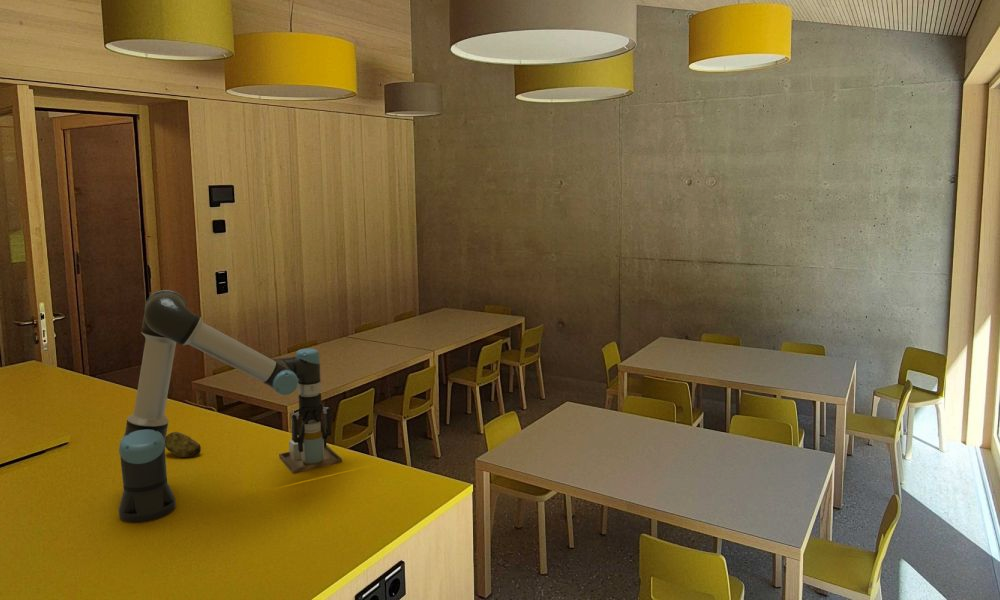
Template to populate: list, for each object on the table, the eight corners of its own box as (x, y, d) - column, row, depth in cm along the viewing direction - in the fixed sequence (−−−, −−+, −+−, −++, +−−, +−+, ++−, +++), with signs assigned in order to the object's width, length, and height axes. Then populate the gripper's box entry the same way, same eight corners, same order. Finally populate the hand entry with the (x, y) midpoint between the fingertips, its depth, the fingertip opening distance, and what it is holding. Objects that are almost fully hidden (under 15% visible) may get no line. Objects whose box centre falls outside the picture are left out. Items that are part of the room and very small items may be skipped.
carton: (294, 460, 241) (293, 444, 240) (289, 456, 245) (288, 440, 244) (321, 454, 247) (321, 438, 246) (317, 450, 251) (316, 434, 250)
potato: (183, 462, 241) (181, 441, 239) (160, 455, 247) (159, 434, 246) (204, 454, 248) (202, 433, 247) (181, 447, 254) (180, 427, 253)
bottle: (298, 463, 239) (296, 422, 236) (315, 457, 244) (313, 416, 242) (311, 468, 235) (309, 426, 232) (327, 462, 240) (325, 421, 238)
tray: (293, 475, 231) (293, 469, 231) (279, 459, 244) (279, 453, 244) (341, 463, 240) (341, 458, 240) (325, 449, 253) (325, 443, 253)
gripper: (285, 401, 227) (289, 467, 231) (340, 392, 237) (342, 455, 241) (279, 395, 233) (282, 460, 237) (332, 386, 244) (335, 448, 248)
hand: (312, 457), depth 239 cm, fingers closed on bottle, 6 cm apart
